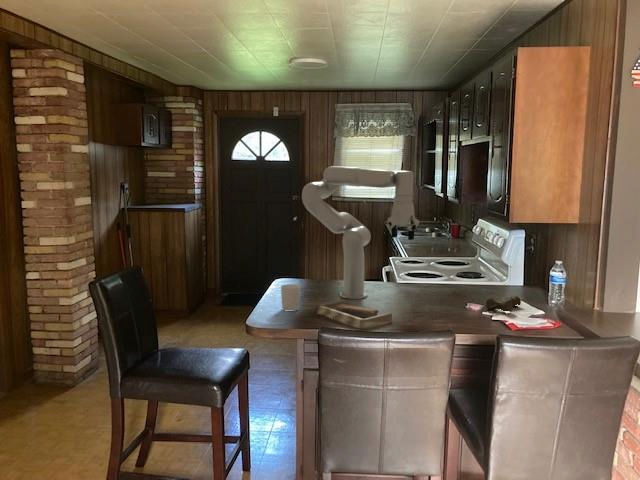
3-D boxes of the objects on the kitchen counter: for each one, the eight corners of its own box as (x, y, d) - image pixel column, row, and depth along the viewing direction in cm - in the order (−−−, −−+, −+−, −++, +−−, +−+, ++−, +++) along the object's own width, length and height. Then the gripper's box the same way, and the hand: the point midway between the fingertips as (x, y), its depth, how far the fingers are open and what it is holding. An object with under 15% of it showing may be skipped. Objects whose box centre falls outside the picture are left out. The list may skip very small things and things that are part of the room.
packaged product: (332, 306, 206) (343, 301, 215) (332, 318, 207) (343, 313, 215) (374, 313, 198) (384, 307, 206) (374, 325, 198) (384, 319, 207)
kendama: (526, 310, 223) (500, 316, 210) (505, 306, 231) (479, 312, 218) (526, 296, 223) (501, 302, 210) (506, 292, 230) (480, 298, 217)
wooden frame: (316, 313, 212) (316, 305, 212) (344, 307, 222) (344, 299, 221) (363, 329, 192) (363, 320, 191) (391, 322, 201) (392, 313, 201)
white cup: (302, 308, 220) (302, 285, 219) (295, 313, 213) (295, 289, 212) (285, 306, 223) (285, 283, 222) (278, 311, 216) (277, 287, 214)
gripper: (383, 198, 231) (382, 237, 234) (413, 200, 218) (412, 241, 221) (394, 198, 236) (393, 235, 238) (425, 200, 223) (423, 240, 225)
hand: (402, 238), depth 230 cm, fingers open, 9 cm apart
